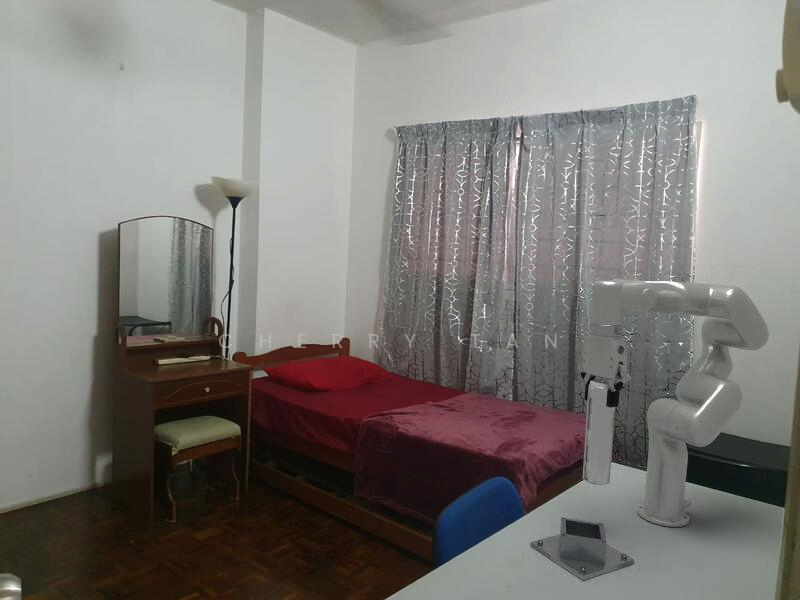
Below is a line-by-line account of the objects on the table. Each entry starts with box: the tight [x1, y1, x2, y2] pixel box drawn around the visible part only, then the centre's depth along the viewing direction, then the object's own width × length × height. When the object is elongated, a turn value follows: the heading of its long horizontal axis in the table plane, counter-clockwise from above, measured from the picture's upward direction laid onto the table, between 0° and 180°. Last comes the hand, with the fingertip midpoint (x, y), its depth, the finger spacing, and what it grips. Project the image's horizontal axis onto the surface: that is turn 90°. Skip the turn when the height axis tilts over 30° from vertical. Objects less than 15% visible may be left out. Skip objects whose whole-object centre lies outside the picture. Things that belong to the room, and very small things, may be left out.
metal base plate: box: [530, 517, 635, 582], centre depth 133 cm, size 16×16×6 cm
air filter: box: [582, 379, 616, 486], centre depth 145 cm, size 6×6×25 cm
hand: (601, 402), depth 144 cm, fingers closed on air filter, 6 cm apart
